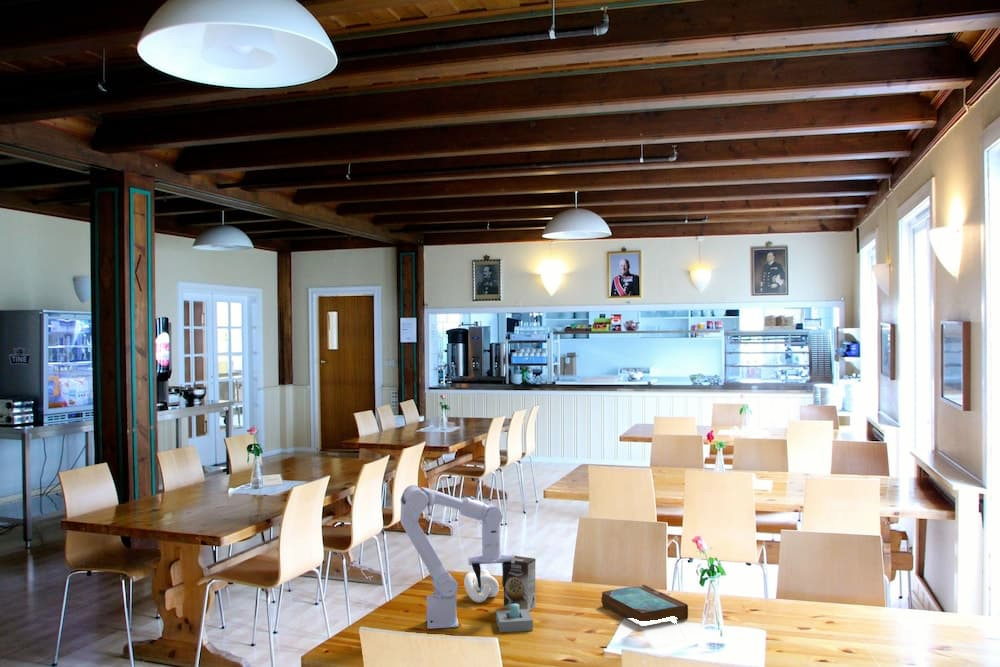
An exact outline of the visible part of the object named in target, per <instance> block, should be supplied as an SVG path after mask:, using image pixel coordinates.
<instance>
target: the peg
mask: <svg viewBox="0 0 1000 667" xmlns="http://www.w3.org/2000/svg"><path fill="white" fill-rule="evenodd" d="M509 610H510V618H520V613H519V604H510V609H509Z"/></svg>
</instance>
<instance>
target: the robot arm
mask: <svg viewBox="0 0 1000 667" xmlns="http://www.w3.org/2000/svg"><path fill="white" fill-rule="evenodd" d="M436 504H437V505H441V506H444V507H449V508H453V509H455V510H458V511H459V514H460V515H462V516H464V517H467V518H470V519H474V520H477V521H481V522H482V523H481V526H482V527H481V539H482V540H481V546H482V547H481V548H482V549H481V551H482V552H481V553H482V554H481V555H479V556H470V557H468V560H467V561H468V564H467V565H468V566H472V567H471V568H472V569H473V573H475V574H476V577H477V581H478V587H479V588H481V579H480V573H481V570H482V568H481V565H489V564H490V565H491V564H501V567H502V578H501V579H502V580H501V583H502V584H501V585H502V587H503V588H504V587H505V584H506V579H507V576H508V573H509V571H510V569H511V566H512V565H511V563H515V560H514V556H515V555H513V554H512V556H511V555H510V554H509V555H506V554H505V555H503V554H501V527H500V525H501V522H502V521H503V516H504V515H502V514H503V513H502V511H501V509H499V507H497V506H495V505H494V504H491V503H490V502H488V501H484V502H483V501H481V500H478V499H476V497H474V496H472V495H471V496H469V497H468V496H467V497H466V496H465V497H464V498H462V499H461V498H458V497H455V496H452V495H449V494H447V493H444V492H441V491H438V490H435V489H432V488H427V487H424V486H421V487H419V486H417V485H414V484H412V485H409V486H407V487H406V488H405V489H404V490H403V492H402V494H401V496H400V524H401V526H402V528H403V530H404V531H405V533H406V534H407V537H408V538H409V540H410V542H411V543H412V545H413V547H414V549H416V551H417V553H418V555H419V556H420V558H421V560H422V562H423V564H424V566H425V567H426V569H427V571H428V573H429V575H430V577H431V585H432V587H433V588H434V590H433V594H432V595H427V596H426V614H425V621H426V624H427V625H426V626H427V630H428V629H429V630H430V629H431V630H432V629H449V628H459V627H460V626H459V620H458V616H457V612H458V611H457V592H458V589H459V584H458V582H457V580H456V579H455V577H453V576H452V575H451V574H450V572H449V571H448V570H447V569H446V567H445V566H444V565H443V562H442V561H441V560H440V558H439V556H438V554H437V552H436V551H435V549H434V547H433V546H432V544H431V542H430V540H429V538H428V537H427V535H426V533H425V532H424V530H423V528H422V526H421V525H420V523H419V520H420V517H421V514H422V513H423V512H424V511H425V509H426V508H427V506H428V507H432V506H434V505H436Z"/></svg>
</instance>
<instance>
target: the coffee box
mask: <svg viewBox="0 0 1000 667" xmlns="http://www.w3.org/2000/svg"><path fill="white" fill-rule="evenodd" d="M512 555H513V554H512ZM512 555H511V554H510V556H512ZM514 560H515V563H511V565H512V566H511V569H510V571H509V573H508V576H507V579H506V584H505V587H503V609H505V608H506V609H505V610H510V604H519V610H522V609H528V611H529V612H531V611H532V610H534V609H535V608H536V603H537V602H536V562H537V561H536V558H533V557H526V556H520V555H514ZM534 607H535V608H534ZM533 608H534V609H533ZM530 610H531V611H530Z"/></svg>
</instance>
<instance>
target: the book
mask: <svg viewBox="0 0 1000 667" xmlns="http://www.w3.org/2000/svg"><path fill="white" fill-rule="evenodd" d="M601 593H602V594H601V604H602V605H603V606H605V607H606V608H605V607H604V608H605V609H607V608H608V609H607V610H609V609H610V610H609V611H610V612H613V613H615V614H617V615H619V616H620V617H622V618H624V619H626V618H634V619H637V620H639V621H650V620H658V619H662V618H666V617H670V616H675V617H677V618H678V620H677V621H680V620H683V619H684V620H686V619H688V617H689V605H688V604H687V603H685V602H683V601H681V600H678V599H676V598H674V597H672V596H670V595H668V594H666V593H663V592H662V591H659V590H657V589H654V588H652V587H649V586H648V585H646V584H641V585H634V586H627V587H622V588H616V589H610V590H606V591H601ZM603 606H602V607H603Z"/></svg>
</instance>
